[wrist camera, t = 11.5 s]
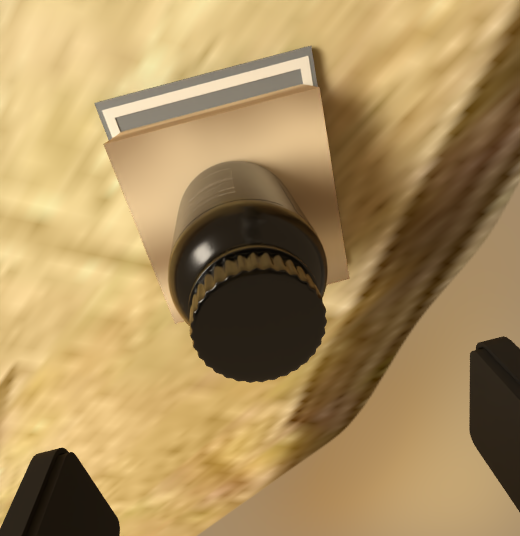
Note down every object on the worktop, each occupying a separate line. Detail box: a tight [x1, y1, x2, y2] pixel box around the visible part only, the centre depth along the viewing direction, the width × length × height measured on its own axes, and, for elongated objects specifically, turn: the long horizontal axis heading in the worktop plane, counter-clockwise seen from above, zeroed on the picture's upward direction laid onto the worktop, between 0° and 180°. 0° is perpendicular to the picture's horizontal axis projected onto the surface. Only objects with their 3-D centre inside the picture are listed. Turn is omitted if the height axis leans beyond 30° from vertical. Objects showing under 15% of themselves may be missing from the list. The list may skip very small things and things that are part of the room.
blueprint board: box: [94, 46, 318, 140], centre depth 30 cm, size 16×14×1 cm
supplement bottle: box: [168, 161, 328, 383], centre depth 19 cm, size 7×7×12 cm
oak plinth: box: [104, 84, 349, 324], centre depth 27 cm, size 12×12×5 cm
